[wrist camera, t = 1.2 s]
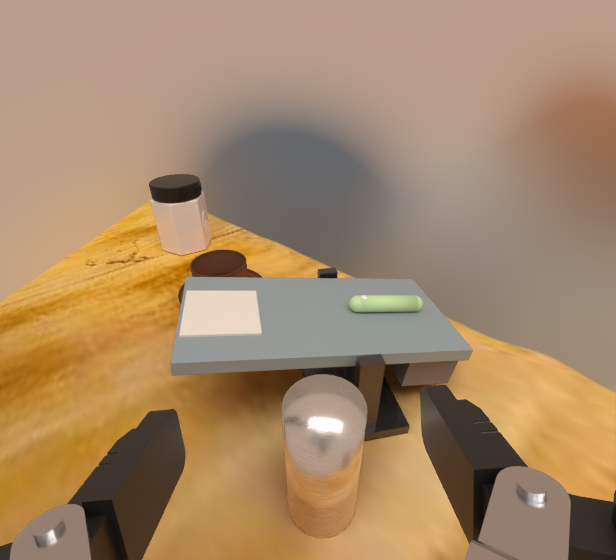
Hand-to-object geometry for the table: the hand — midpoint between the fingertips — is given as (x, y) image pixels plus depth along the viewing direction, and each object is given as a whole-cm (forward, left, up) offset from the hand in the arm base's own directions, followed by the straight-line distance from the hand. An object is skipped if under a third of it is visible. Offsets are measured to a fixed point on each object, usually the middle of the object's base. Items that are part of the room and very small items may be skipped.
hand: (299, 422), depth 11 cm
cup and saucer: (-34, +11, -19) cm, 41 cm away
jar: (-54, +13, -19) cm, 59 cm away
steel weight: (-5, +5, -19) cm, 20 cm away
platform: (-15, +12, -15) cm, 24 cm away
